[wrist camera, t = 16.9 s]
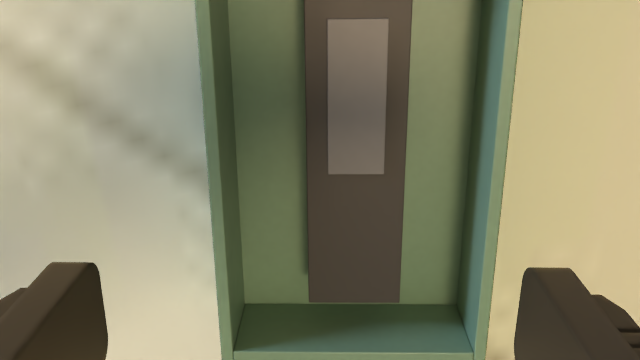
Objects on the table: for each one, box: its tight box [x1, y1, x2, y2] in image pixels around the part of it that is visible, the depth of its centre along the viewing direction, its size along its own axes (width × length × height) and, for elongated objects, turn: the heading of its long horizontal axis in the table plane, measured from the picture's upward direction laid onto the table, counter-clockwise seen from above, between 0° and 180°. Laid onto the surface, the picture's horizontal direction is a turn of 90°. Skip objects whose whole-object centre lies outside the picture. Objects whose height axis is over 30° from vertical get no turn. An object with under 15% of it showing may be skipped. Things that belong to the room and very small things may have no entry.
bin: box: [195, 0, 523, 360], centre depth 29 cm, size 13×21×5 cm, turn 0°
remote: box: [304, 0, 413, 303], centre depth 29 cm, size 5×16×3 cm, turn 1°
